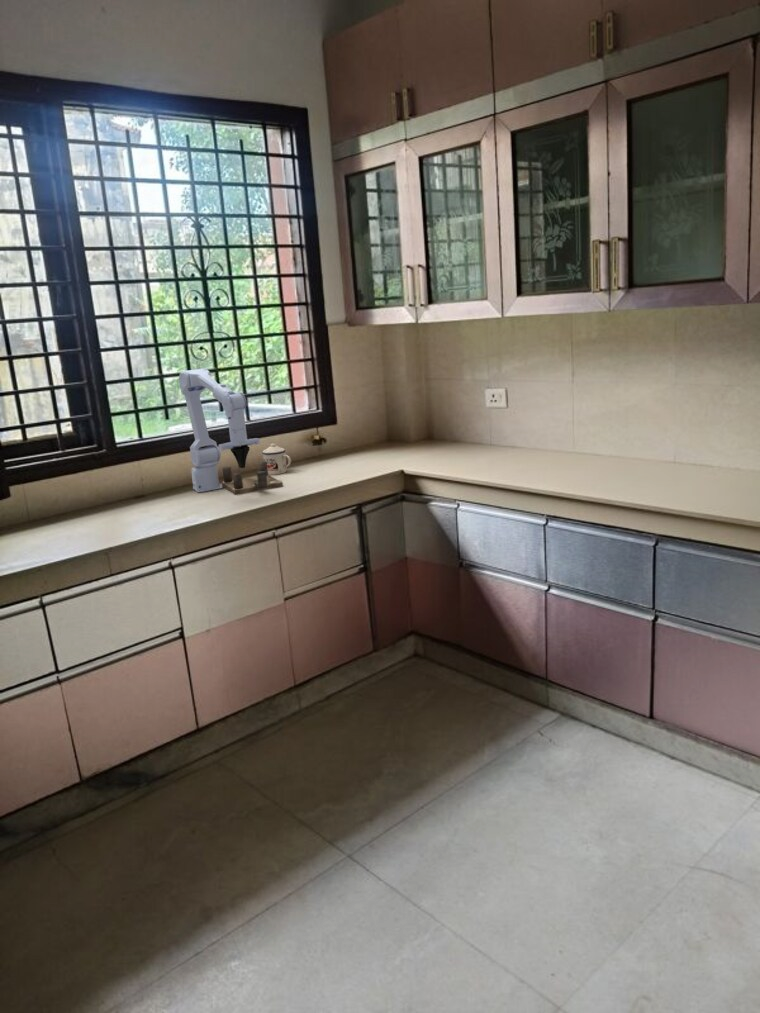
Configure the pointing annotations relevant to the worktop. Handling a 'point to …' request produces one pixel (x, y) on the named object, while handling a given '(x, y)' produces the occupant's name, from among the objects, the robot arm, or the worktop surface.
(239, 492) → the peg board with pegs
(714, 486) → the worktop surface
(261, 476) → the crank handle
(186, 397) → the robot arm
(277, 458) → the teacup with lid
